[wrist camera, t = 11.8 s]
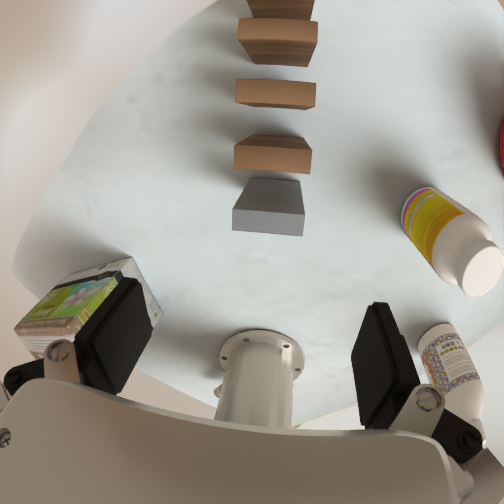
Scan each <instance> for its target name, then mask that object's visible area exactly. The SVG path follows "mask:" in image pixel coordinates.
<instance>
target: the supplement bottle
mask: <svg viewBox="0 0 504 504" xmlns="http://www.w3.org/2000/svg"><path fill="white" fill-rule="evenodd" d="M401 224H402V228H403V230H404V232H405V234H406V235H407V236H408V238H409V239H410V240H411V241H412V243H413V244H414V245H415V246H416V247H417V249H418V250H419V251H420V252H421V254H422V255H423V256H424V258H425V259H426V260H427V261H428V263H429V264H430V265H431V267H432V268H433V269H434V271H435V272H436V273H437V275H438V276H439V277H440V278H441V279H442V280H443V281H445V282H446V283H448V284H452V285H459V286H460V288H461V289H462V290H463V292H464V293H465V294H466V295H468V296H470V297H478V296H481V295H483V294H485V293H487V292H488V291H489V290H490V289H491V288H492V287H493V286H494V285H495V284H496V283H497V281H498V279H499V278H500V276H501V273H502V270H503V265H504V257H503V253H502V251H501V250H500V249H499V248H498V247H497V246H496V245H495V244H494V243H493V242H492V236H491V232H490V230H489V228H488V226H487V224H486V223H485V222H484V221H483V220H482V219H481V218H479V217H478V216H477V215H475V214H474V213H472V212H471V211H470V210H468V209H467V208H465V207H464V206H462V205H461V204H460V203H458V202H457V201H455V200H454V199H452V198H451V197H449V196H448V195H446V194H445V193H443V192H441V191H440V190H438V189H436V188H433V187H423V188H420V189H418V190H416V191H414V192H413V193H412V194H411V195H410V196H409V197H408V198H407V200H406V201H405V203H404V205H403V208H402V212H401Z"/></svg>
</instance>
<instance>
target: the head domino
mask: <svg viewBox="0 0 504 504" xmlns="http://www.w3.org/2000/svg"><path fill="white" fill-rule="evenodd" d="M304 219H305V212H304V205H303V199H302V192H301V186H300V182H299V181H288V180H277V179H264V178H250V180H249V181H248V183H247V185H246V187H245V188H244V190H243V192H242V193H241V195H240V197H239V199H238V200H237V202H236V204H235V205H234V207H233V209H232V230H236V231H248V232H259V233H270V234H281V235H292V236H302V235H303V227H304Z"/></svg>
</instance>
